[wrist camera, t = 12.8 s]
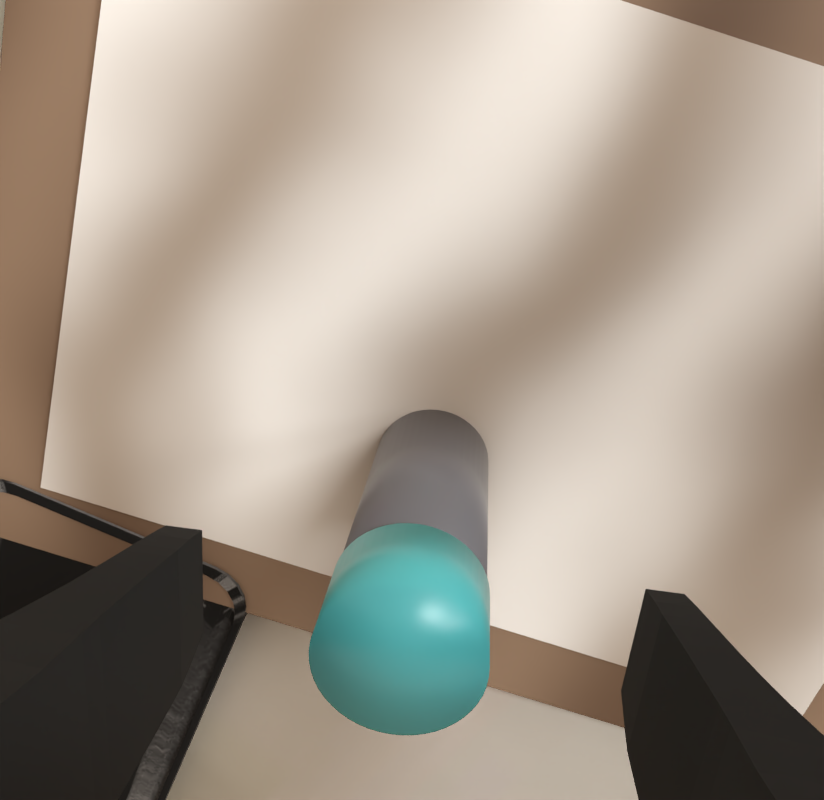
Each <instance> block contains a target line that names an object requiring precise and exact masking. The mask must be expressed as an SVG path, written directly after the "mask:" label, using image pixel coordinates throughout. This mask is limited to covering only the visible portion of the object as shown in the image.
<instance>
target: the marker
mask: <svg viewBox="0 0 824 800" xmlns="http://www.w3.org/2000/svg"><path fill="white" fill-rule="evenodd" d="M487 554H488V453H487V449H486V446H485V443H484V441H483V439H482V437H481V436H480V434H479V433H478V432H477V430H476V429H475V428H474V427H473V426H472V425H471V424H470V423H468V422H467V421H466V420H464V419H463V418H461V417H459V416H457V415H455V414H453V413H449V412H446V411H441V410H431V409H430V410H420V411H415V412H412V413H409V414H407V415H405V416H403V417H401V418H399V419H398V420H396V421H395V422H394V423H393V424H392V425H391V426H390V427H389V428H388V429H387V430H386V432H385V433H384V435H383V436H382V438H381V440H380V443H379V446H378V449H377V452H376V455H375V458H374V461H373V464H372V467H371V470H370V473H369V476H368V479H367V482H366V485H365V488H364V491H363V494H362V497H361V500H360V503H359V506H358V509H357V512H356V515H355V518H354V521H353V524H352V527H351V530H350V533H349V536H348V539H347V542H346V545H345V548H344V551H343V553H342V555H341V556H340V557H339V560H338V562H337V564H336V566H335V569H334V572H333V575H332V578H331V581H330V584H329V587H328V590H327V593H326V595H325V598H324V601H323V604H322V607H321V610H320V613H319V616H318V619H317V622H316V625H315V628H314V631H313V634H312V637H311V640H310V646H309V664H310V669H311V673H312V676H313V679H314V681H315V683H316V685H317V687H318V689H319V690H320V692H321V693H322V695H323V696H324V698H325V699H326V700H327V701H328V702H329V703H330V704H331V705H332V706H333V707H334V708H335V709H336V710H337V711H338V712H340V713H341V714H342V715H344V716H345V717H347V718H348V719H350V720H352V721H353V722H355V723H357V724H359V725H361V726H364V727H366V728H369V729H372V730H375V731H378V732H383V733H388V734H395V735H419V734H426V733H430V732H435V731H438V730H441V729H444V728H446V727H448V726H450V725H452V724H454V723H456V722H458V721H459V720H461V719H462V718H464V717H465V716H466V715H467V714H468V713H469V712H471V711H472V709H473V708H474V707H475V706H476V705H477V704H478V702H479V701H480V699H481V697H482V696H483V694H484V691H485V689H486V687H487V683H488V679H489V670H490V588H489V582H488V578H487Z"/></svg>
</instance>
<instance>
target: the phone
mask: <svg viewBox="0 0 824 800" xmlns="http://www.w3.org/2000/svg"><path fill="white" fill-rule="evenodd" d="M0 492H4V493H8V494H11V495H15V496H18V497H20V498H23V499H25V500H27V501H30V502H32V503H35V504H37V505H39V506H42V507H44V508H47V509H49V510H51V511H54V512H56V513H58V514H61V515H63V516H66V517H68V518H70V519H73V520H75V521H78V522H80V523H82V524H85V525H87V526H89V527H92V528H94V529H97V530H99V531H101V532H104V533H106V534H108V535H111V536H113V537H116V538H118V539H120V540H123V541H125V542H128V543H130V544H132V545H133V544H134V543H136V542H138V541H139V540H141V539H143V538H144V536H141V535H139V534H137V533H134V532H132V531H129V530H127V529H125V528H122V527H120V526H118V525H115V524H113V523H110V522H108V521H106V520H103V519H101V518H98V517H96V516H94V515H91V514H89V513H86V512H84V511H82V510H79V509H77V508H75V507H72V506H70V505H67V504H65V503H63V502H60V501H58V500H55V499H53V498H51V497H48V496H46V495H44V494H41V493H39V492H36V491H34V490H32V489H29V488H27V487H24V486H22V485H20V484H17V483H14V482H11V481H7V480H4V479H0ZM95 567H96V566H92V565H89V564H86V563H83V562H79V561H76V560H73V559H69V558H66V557H63V556H60V555H56V554H53V553H50V552H46V551H43V550H40V549H37V548H33V547H30V546H27V545H23V544H20V543H17V542H14V541H10V540H7V539H4V538H0V619H2V618H4V617H6V616H8V615H10V614H12V613H14V612H15V611H17V610H19V609H21V608H23V607H25V606H27V605H28V604H30V603H32V602H34V601H36V600H38V599H40V598H42V597H43V596H45V595H47V594H49V593H51V592H53V591H55V590H56V589H58V588H60V587H62V586H64V585H66V584H68V583H69V582H71V581H73V580H74V579H76V578H78V577H79V576H81V575H83V574H85V573H86V572H88V571H90V570H91V569H93V568H95ZM203 574H204V575H206V576H208V577H210V578H211V579H213V580H215V581H217V582H218V583H219V584H220V585H221V586H222V587H223V588H224V589H225V590H226V591H227V592H228V594H229V596H230V598H231V599H232V601H233V605H234V608H230V607H227V606H224V605H220V604H217V603H214V602H211V601H207V600H204V599H203V629H204V632H203V635H202V637H201V640H200V643H199V645H198V648H197V650H196V653H195V655H194V658H193V661H192V663H191V666H190V668H189V670H188V673H187V675H186V678H185V680H184V682H183V685H182V687H181V689H180V691H179V693H178V694H177V696H176V698H175V700H174V702H173V704H172V705H171V707H170V709H169V711H168V713H167V714H166V716H165V718H164V720H163V722H162V723H161V725H160V727H159V729H158V731H157V732H156V734H155V736H154V738H153V739H152V741H151V743H150V745H149V746H148V748H147V750H146V752H145V754H144V755H143V757H142V759H141V761H140V762H139V764H138V766H137V768H136V769H135V771H134V773H133V775H132V776H131V778H130V780H129V782H128V784H127V785H126V787H125V789H124V791H123V792H122V794H121V796H120V798H119V799H118V800H166V798H167V796H168V794H169V791H170V789H171V787H172V784H173V782H174V780H175V777H176V775H177V773H178V771H179V768H180V766H181V764H182V761H183V759H184V757H185V754H186V752H187V750H188V747H189V745H190V743H191V741H192V738H193V736H194V734H195V731H196V729H197V727H198V724H199V722H200V720H201V717H202V715H203V713H204V711H205V708H206V706H207V704H208V701H209V699H210V697H211V694H212V692H213V690H214V687H215V685H216V683H217V681H218V678H219V676H220V674H221V671H222V669H223V667H224V664H225V662H226V660H227V657H228V655H229V653H230V650H231V648H232V646H233V644H234V641H235V639H236V637H237V634H238V632H239V630H240V627H241V625H242V623H243V620H244V618H245V616H246V614H247V612H245V610H246V602H245V596H244V593H243V592H242V590H241V588H240V586H239V584H238V583H237V582H236V581H235V580H234V579H233V578H232V577H231V576H230V575H229V574H228V573H226V572H224V571H223V570H221V569H219V568H217V567H215V566H213V565H211V564H208V563H206V562H203Z"/></svg>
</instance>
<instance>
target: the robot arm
mask: <svg viewBox="0 0 824 800" xmlns="http://www.w3.org/2000/svg"><path fill="white" fill-rule="evenodd" d="M203 632H204V629H203V556H202V530H198V529H190V528H183V527H175V526H167V525H166V526H164V527H162V528H160V529H158V530H156V531H155V532H153V533H151V534H149V535H148V536H146V537H144V538H143V539H141V540H139V541H138V542H136V543H134V544H133V545H131V546H129V547H128V548H126V549H125V550H123V551H121V552H120V553H118V554H116V555H115V556H113V557H111V558H110V559H108V560H106V561H105V562H103V563H101V564H100V565H98V566H96V567H95V568H93V569H91V570H90V571H88V572H86V573H85V574H83V575H81V576H79V577H78V578H76V579H74V580H73V581H71V582H69V583H68V584H66V585H64V586H62V587H60V588H58V589H56V590H55V591H53V592H51V593H49V594H47V595H45V596H43V597H42V598H40V599H38V600H36V601H34V602H32V603H30V604H28V605H27V606H25V607H23V608H21V609H19V610H17V611H15V612H14V613H12V614H10V615H8V616H6V617H4V618H2V619H0V800H118V799H119V798H120V796H121V794H122V792H123V791H124V789H125V787H126V785H127V784H128V782H129V780H130V778H131V776H132V775H133V773H134V771H135V769H136V768H137V766H138V764H139V762H140V761H141V759H142V757H143V755H144V754H145V752H146V750H147V748H148V746H149V745H150V743H151V741H152V739H153V738H154V736H155V734H156V732H157V731H158V729H159V727H160V725H161V723H162V722H163V720H164V718H165V716H166V714H167V713H168V711H169V709H170V707H171V705H172V704H173V702H174V700H175V698H176V696H177V694H178V693H179V691H180V689H181V687H182V685H183V682H184V680H185V678H186V675H187V673H188V670H189V668H190V666H191V663H192V661H193V658H194V655H195V653H196V650H197V648H198V645H199V643H200V640H201V637H202V635H203ZM621 696H622V706H623V717H624V726H625V735H626V743H627V751H628V756H629V760H630V765H631V769H632V773H633V777H634V782H635V786H636V790H637V794H638V799H639V800H824V735H823V734H822V733H821V732H819V731H818V730H817V729H816V728H815V727H814V726H813V725H812V724H811V723H810V722H809V721H808V720H807V719H805V718H804V717H803V716H802V715H801V714H800V713H799V712H798V711H797V710H796V709H795V708H794V707H793V706H791V705H790V704H789V703H788V702H787V701H786V700H785V699H784V698H783V697H782V696H781V695H780V694H779V693H778V692H777V691H776V690H775V689H774V688H773V687H772V686H771V685H770V684H769V683H768V682H767V681H766V680H765V679H764V678H763V677H762V676H761V675H760V674H759V673H758V672H757V671H756V669H755V668H754V667H753V666H752V665H751V664H750V663H749V662H748V661H747V660H746V659H745V658H744V657H743V656H742V655H741V654H740V653H739V652H738V651H737V649H736V648H735V647H734V646H733V645H732V644H731V643H730V642H729V641H728V640H727V639H726V638H725V636H724V635H723V634H722V633H721V632H720V631H719V630H718V629H717V628H716V627H715V626H714V624H713V623H712V622H711V621H710V620H709V619H708V618H707V617H706V616H705V615H704V614H703V612H702V611H701V610H700V609H699V608H698V607H697V606H696V605H695V604H694V603H693V602H692V601H691V600H690V599H689V598H688V597H687V596H686V595H685V594H681V593H673V592H666V591H658V590H651V589H645V593H644V598H643V602H642V606H641V610H640V614H639V618H638V622H637V626H636V631H635V635H634V639H633V643H632V647H631V651H630V655H629V660H628V664H627V668H626V672H625V676H624V680H623V684H622V688H621Z"/></svg>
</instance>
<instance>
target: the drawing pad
mask: <svg viewBox="0 0 824 800" xmlns="http://www.w3.org/2000/svg"><path fill="white" fill-rule="evenodd" d="M430 409H431V410H441V411H446V412H449V413H453V414H455V415H457V416H459V417H461V418H463V419H464V420H466V421H467V422H468V423H470V424H471V425H472V426H473V427H474V428H475V429H476V430H477V432H478V433H479V434H480V436H481V437H482V439H483V441H484V443H485V446H486V449H487V453H488V554H487V578H488V582H489V588H490V670H489V679H488V683H487V686H490V687H493V688H496V689H500V690H503V691H506V692H509V693H513V694H516V695H519V696H523V697H526V698H529V699H532V700H536V701H539V702H542V703H545V704H549V705H552V706H555V707H559V708H562V709H565V710H568V711H572V712H575V713H578V714H582V715H585V716H588V717H591V718H595V719H598V720H601V721H605V722H608V723H611V724H614V725H618V726H621V727H624V728H625V726H624V717H623V706H622V696H621V688H622V684H623V680H624V676H625V672H626V668H627V664H628V660H629V655H630V651H631V647H632V643H633V639H634V635H635V631H636V626H637V622H638V618H639V614H640V610H641V606H642V602H643V598H644V593H645V589H651V590H658V591H666V592H673V593H681V594H685V595H686V596H687V597H688V598H689V599H690V600H691V601H692V602H693V603H694V604H695V605H696V606H697V607H698V608H699V609H700V610H701V611H702V612H703V614H704V615H705V616H706V617H707V618H708V619H709V620H710V621H711V622H712V623H713V624H714V626H715V627H716V628H717V629H718V630H719V631H720V632H721V633H722V634H723V635H724V636H725V638H726V639H727V640H728V641H729V642H730V643H731V644H732V645H733V646H734V647H735V648H736V649H737V651H738V652H739V653H740V654H741V655H742V656H743V657H744V658H745V659H746V660H747V661H748V662H749V663H750V664H751V665H752V666H753V667H754V668H755V669H756V671H757V672H758V673H759V674H760V675H761V676H762V677H763V678H764V679H765V680H766V681H767V682H768V683H769V684H770V685H771V686H772V687H773V688H774V689H775V690H776V691H777V692H778V693H779V694H780V695H781V696H782V697H783V698H784V699H785V700H786V701H787V702H788V703H789V704H790V705H791V706H793V707H794V708H795V709H796V710H797V711H798V712H799V713H800V714H801V715H802V716H803V717H804V718H805V719H807V720H808V721H809V722H810V723H811V724H812V725H813V726H814V727H815V728H816V729H817V730H818V731H819V732H821V733H822V734H823V735H824V0H6V2H5V15H4V27H3V39H2V51H1V63H0V479H4V480H7V481H11V482H14V483H17V484H20V485H22V486H24V487H27V488H29V489H32V490H34V491H36V492H39V493H41V494H44V495H46V496H48V497H51V498H53V499H55V500H58V501H60V502H63V503H65V504H67V505H70V506H72V507H75V508H77V509H79V510H82V511H84V512H86V513H89V514H91V515H94V516H96V517H98V518H101V519H103V520H106V521H108V522H110V523H113V524H115V525H118V526H120V527H122V528H125V529H127V530H129V531H132V532H134V533H137V534H139V535H141V536H144V537H146V536H148V535H149V534H151V533H153V532H155V531H156V530H158V529H160V528H162V527H164V526H166V525H167V526H175V527H183V528H190V529H198V530H202V556H203V562H206V563H208V564H211V565H213V566H215V567H217V568H219V569H221V570H223V571H224V572H226V573H228V574H229V575H230V576H231V577H232V578H233V579H234V580H235V581H236V582H237V583H238V584H239V586H240V588H241V590H242V592H243V593H244V596H245V602H246V610H245V612H247V613H250V614H253V615H257V616H260V617H263V618H266V619H270V620H273V621H276V622H280V623H283V624H286V625H289V626H293V627H296V628H299V629H303V630H306V631H309V632H312V633H313V631H314V628H315V625H316V622H317V619H318V616H319V613H320V610H321V607H322V604H323V601H324V598H325V595H326V593H327V590H328V587H329V584H330V581H331V578H332V575H333V572H334V569H335V566H336V564H337V562H338V560H339V557H340V556H341V555H342V553H343V551H344V548H345V545H346V542H347V539H348V536H349V533H350V530H351V527H352V524H353V521H354V518H355V515H356V512H357V509H358V506H359V503H360V500H361V497H362V494H363V491H364V488H365V485H366V482H367V479H368V476H369V473H370V470H371V467H372V464H373V461H374V458H375V455H376V452H377V449H378V446H379V443H380V440H381V438H382V436H383V435H384V433H385V432H386V430H387V429H388V428H389V427H390V426H391V425H392V424H393V423H394V422H395V421H396V420H398V419H399V418H401V417H403V416H405V415H407V414H409V413H412V412H415V411H420V410H430ZM0 538H4V539H7V540H10V541H14V542H17V543H20V544H23V545H27V546H30V547H33V548H37V549H40V550H43V551H46V552H50V553H53V554H56V555H60V556H63V557H66V558H69V559H73V560H76V561H79V562H83V563H86V564H89V565H92V566H98V565H100V564H101V563H103V562H105V561H106V560H108V559H110V558H111V557H113V556H115V555H116V554H118V553H120V552H121V551H123V550H125V549H126V548H128V547H129V546H131V545H132V544H130V543H128V542H125V541H123V540H120V539H118V538H116V537H113V536H111V535H108V534H106V533H104V532H101V531H99V530H97V529H94V528H92V527H89V526H87V525H85V524H82V523H80V522H78V521H75V520H73V519H70V518H68V517H66V516H63V515H61V514H58V513H56V512H54V511H51V510H49V509H47V508H44V507H42V506H39V505H37V504H35V503H32V502H30V501H27V500H25V499H23V498H20V497H18V496H15V495H11V494H8V493H4V492H0ZM203 599H204V600H207V601H211V602H214V603H217V604H220V605H224V606H227V607H230V608H234V605H233V601H232V599H231V598H230V596H229V594H228V592H227V591H226V590H225V589H224V588H223V587H222V586H221V585H220V584H219V583H218V582H217V581H215V580H213V579H211V578H210V577H208V576H206V575H204V574H203Z"/></svg>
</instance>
